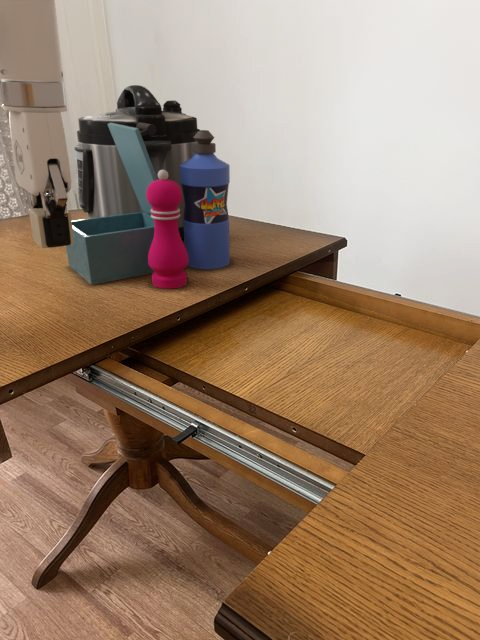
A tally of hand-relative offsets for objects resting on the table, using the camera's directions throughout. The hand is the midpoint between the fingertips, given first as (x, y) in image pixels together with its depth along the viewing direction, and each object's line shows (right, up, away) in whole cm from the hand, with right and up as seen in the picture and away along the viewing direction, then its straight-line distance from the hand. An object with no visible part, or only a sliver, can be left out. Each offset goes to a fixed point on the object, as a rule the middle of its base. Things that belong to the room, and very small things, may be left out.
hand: (53, 239), depth 76 cm
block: (0, 0, 0) cm, 0 cm away
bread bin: (+2, +1, +31) cm, 31 cm away
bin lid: (+6, +18, +26) cm, 32 cm away
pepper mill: (+12, -3, +24) cm, 27 cm away
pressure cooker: (+1, +13, +55) cm, 56 cm away
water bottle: (+18, +2, +35) cm, 39 cm away
